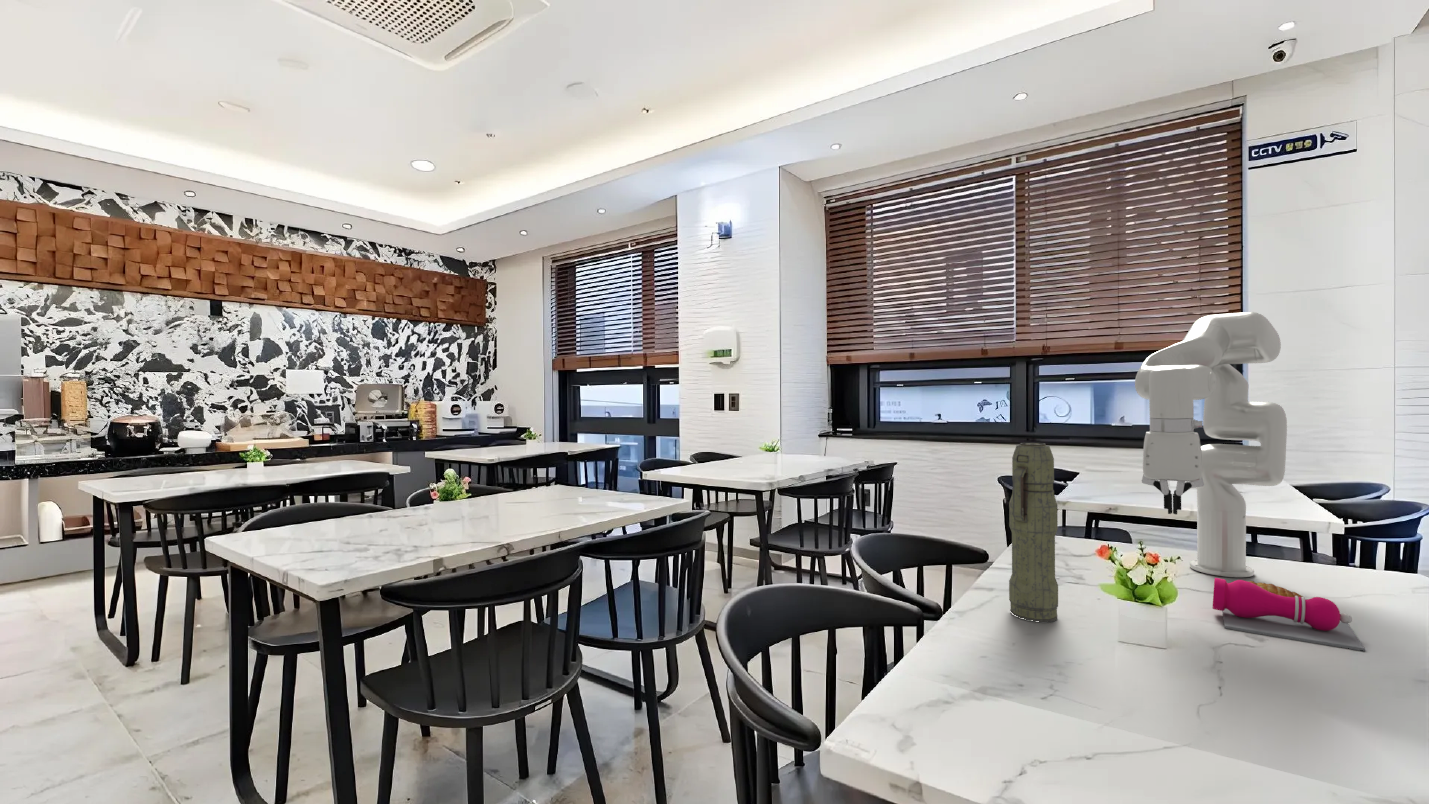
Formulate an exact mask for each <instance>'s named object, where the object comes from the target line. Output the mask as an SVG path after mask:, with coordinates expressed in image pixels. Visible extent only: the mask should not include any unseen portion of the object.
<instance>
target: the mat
mask: <svg viewBox="0 0 1429 804" xmlns="http://www.w3.org/2000/svg"><path fill="white" fill-rule="evenodd" d="M1221 613H1222V619H1223V624H1224V625H1223V626H1224V629H1226V630H1233V631H1238V632H1246V633H1251V634H1258V635H1264V636H1270V637H1275V638H1283V639H1289V640H1293V641H1294V640H1295V641H1300V642H1305V643H1312V644H1318V645H1324V646H1329V647H1337V648H1341V647H1342V649H1348V648H1349V650H1354V651H1360V650H1363V651H1362V652H1366V648H1365V646H1364V644H1363V643H1362V641H1361V640H1360V638H1359V637H1358V636H1357V635H1356V633H1355V631H1354V630H1353V628H1352V627H1351V626H1350V623H1348V624H1346V623H1342V622H1341V621H1340V622H1339V624H1338V626H1337V627H1336V628H1335V629H1333V630H1329V631H1322V630H1317V629H1314V628H1313V627H1311V626H1310V625H1309V624H1307V623H1305V622H1304V623H1303V624H1301V623H1300V622H1299V623H1298V622H1296V623H1295V622H1294V621H1293V620H1292V619H1288V618H1285V617H1279V616H1261V617H1254V618H1243V617H1238V616H1236V615H1234V614H1233V613H1232V612H1230V611H1229V610H1228V609H1225V610H1224V611H1221Z"/></svg>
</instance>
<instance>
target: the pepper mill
mask: <svg viewBox="0 0 1429 804" xmlns="http://www.w3.org/2000/svg"><path fill="white" fill-rule="evenodd" d="M1213 581H1214V582H1213V596H1212V597H1213V598H1212V610H1215V611H1221V612H1222V611H1224V610H1225V609H1228V610H1229V611H1230V612H1232V613H1233V614H1234V615H1236V616H1238V617H1243V618H1254V617H1261V616H1279V617H1285V618H1288V619H1292V620H1293V621H1294V622H1295V623H1296V622H1298V623H1299V622H1300V623H1301V624H1303V623H1304V622H1305V623H1307V624H1309V625H1310V626H1311V627H1313V628H1314V629H1317V630H1322V631H1329V630H1333V629H1335V628H1336V627H1337V626H1338V624H1339V622H1342V623H1346V624H1351V623H1352V622H1353V618H1352V616H1351V614H1348V613H1345V612H1344V613H1341V612H1340V611H1341V610H1340V609H1339V607H1338V605H1337V604H1336V603H1335V602H1333V601H1332V600H1330V599H1328V598H1325V597H1321V596H1314V597H1311V598H1308V599H1306V598H1305V597H1304V596H1303V597H1298V596H1295V597H1285V596H1281V595H1276V594H1274V593H1271V592H1269V591H1267V590H1265V589H1263V588H1261V587H1259V586H1257V585H1255V584H1253V583H1251V582H1249V581H1247V580H1244V579H1237V580H1234V581H1232V582H1227V580H1226V579H1224V578H1219V577H1214V580H1213Z"/></svg>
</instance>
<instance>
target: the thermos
mask: <svg viewBox="0 0 1429 804" xmlns="http://www.w3.org/2000/svg"><path fill="white" fill-rule="evenodd" d="M1011 461H1012V463H1011V465H1012V467H1011V469H1012V470H1011V473H1012V476H1011V477H1012V478H1011V479H1012V493H1011V497H1010V500H1009V502H1008V509H1009V512H1008V513H1009V514H1008V516H1009V518H1008V519H1009V522H1008V526H1009V529H1010V531H1011V576H1010V578H1009V579H1008V585H1009V586H1008V588H1009V589H1008V592H1009V593H1008V599H1009V602H1010V608H1009V612H1010V611H1011V612H1012V613H1013V614H1014V615H1016V616H1018V617H1020V618H1024V619H1026V620H1033V621H1039V622H1038V623H1040V622H1047V623H1053V622H1055V620H1056V621H1057V620H1058V607H1059V584H1058V581H1057V579H1056V535H1057V532H1058V525H1059V524H1058V523H1059V522H1058V518H1059V517H1058V515H1059V514H1058V510H1059V509H1058V502H1057V499H1056V497H1055V489H1054V483H1055V458H1054V454H1053V453H1052V449H1051V447H1050V445H1046V443H1044V442H1020V443H1019V444H1016V446H1015V449H1014V452H1013V454H1012V459H1011ZM1026 620H1025V621H1026ZM1052 621H1053V622H1052Z"/></svg>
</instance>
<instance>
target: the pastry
mask: <svg viewBox="0 0 1429 804" xmlns="http://www.w3.org/2000/svg"><path fill="white" fill-rule="evenodd" d="M1248 582H1251V583H1253V584H1255V585H1257V586H1259V587H1261V588H1263V589H1265V590H1267V591H1269V592H1271V593H1274V594H1276V595H1281V596H1285V597H1295V596H1298V597H1304V596H1303V595H1302V594H1300V593H1297V592H1295V591H1291V590H1289V589H1287V588H1285V587H1282V586H1278V585H1275V584H1273V583H1265V582H1255V581H1252V580H1249V581H1248Z"/></svg>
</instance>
